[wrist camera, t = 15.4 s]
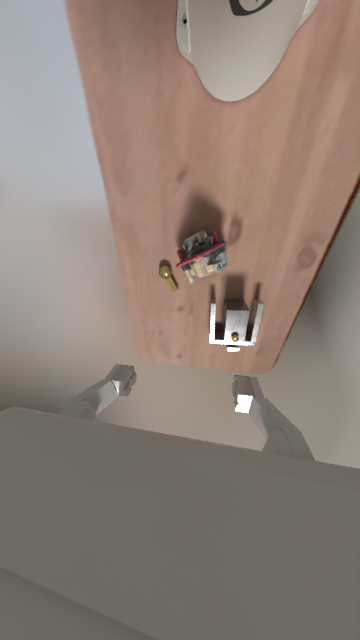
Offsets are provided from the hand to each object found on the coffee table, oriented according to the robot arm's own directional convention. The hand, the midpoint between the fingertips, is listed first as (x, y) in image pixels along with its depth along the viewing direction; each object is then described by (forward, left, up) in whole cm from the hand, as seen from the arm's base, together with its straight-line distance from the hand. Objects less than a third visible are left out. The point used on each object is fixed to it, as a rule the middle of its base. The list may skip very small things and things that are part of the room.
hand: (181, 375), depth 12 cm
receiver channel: (+11, +9, -31) cm, 34 cm away
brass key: (-1, -8, -31) cm, 32 cm away
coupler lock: (+10, +9, -31) cm, 34 cm away
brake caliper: (-6, 0, -31) cm, 32 cm away
